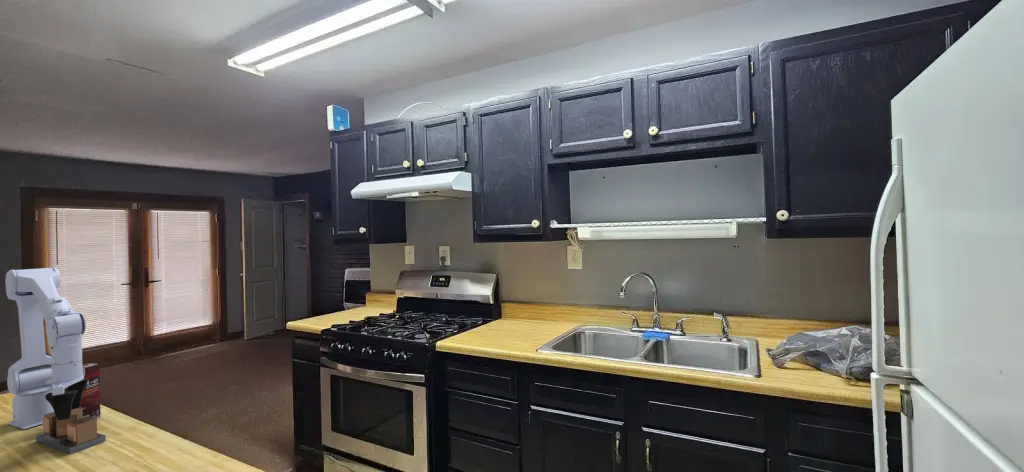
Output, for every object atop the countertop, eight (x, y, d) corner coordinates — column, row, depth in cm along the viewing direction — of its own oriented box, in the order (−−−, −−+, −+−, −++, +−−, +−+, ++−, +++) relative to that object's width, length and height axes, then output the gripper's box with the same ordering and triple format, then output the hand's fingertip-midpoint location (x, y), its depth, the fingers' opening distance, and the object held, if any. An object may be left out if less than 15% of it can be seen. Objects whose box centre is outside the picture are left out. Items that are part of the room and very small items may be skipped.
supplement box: (68, 430, 125) (66, 372, 124) (54, 428, 126) (52, 371, 125) (102, 417, 133) (100, 363, 133) (89, 415, 134) (87, 362, 134)
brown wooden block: (62, 434, 119) (61, 411, 119) (83, 430, 121) (82, 408, 121) (56, 441, 115) (55, 417, 115) (77, 437, 117) (76, 414, 117)
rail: (36, 441, 118) (35, 416, 118) (71, 430, 125) (70, 406, 124) (70, 454, 111) (69, 427, 111) (105, 441, 118) (105, 416, 118)
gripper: (55, 356, 121) (57, 407, 122) (34, 372, 109) (36, 428, 109) (91, 352, 125) (92, 401, 125) (73, 367, 113) (75, 421, 113)
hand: (68, 413), depth 118 cm, fingers open, 7 cm apart
